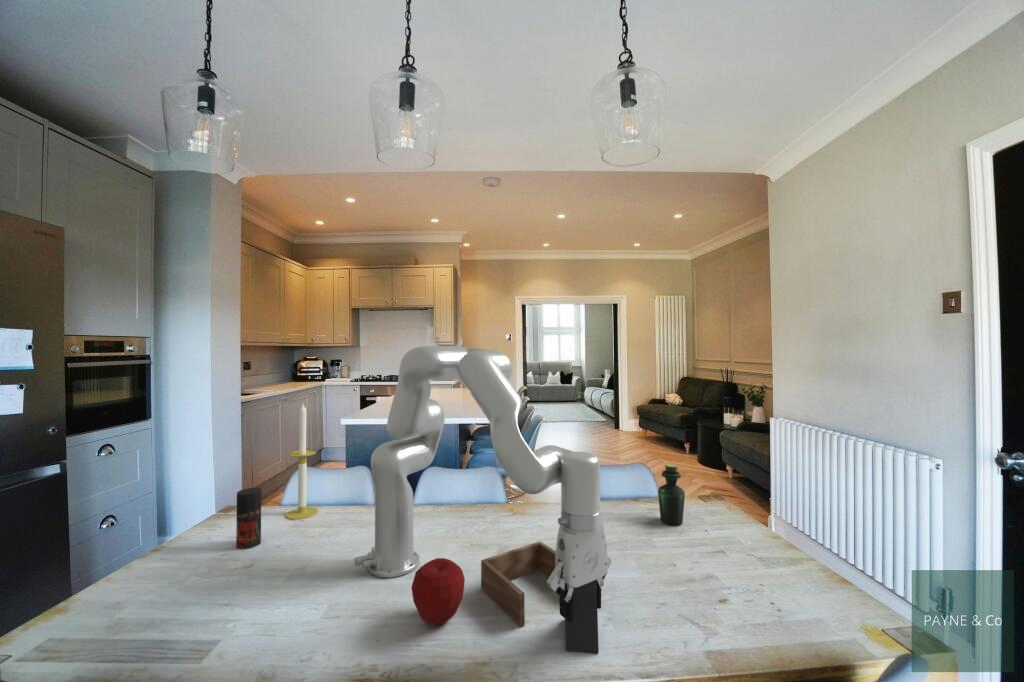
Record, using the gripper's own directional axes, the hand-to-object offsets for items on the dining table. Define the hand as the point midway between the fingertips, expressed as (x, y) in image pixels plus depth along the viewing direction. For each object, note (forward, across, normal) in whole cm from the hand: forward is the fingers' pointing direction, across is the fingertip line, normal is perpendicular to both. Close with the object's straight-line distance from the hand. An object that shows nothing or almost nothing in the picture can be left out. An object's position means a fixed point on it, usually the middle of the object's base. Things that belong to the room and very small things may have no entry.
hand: (580, 610), depth 80 cm
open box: (+5, 0, +16) cm, 17 cm away
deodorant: (+5, -53, +80) cm, 96 cm away
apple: (+5, -21, +20) cm, 29 cm away
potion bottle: (+5, +60, +23) cm, 64 cm away
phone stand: (+5, 0, 0) cm, 5 cm away
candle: (+6, -38, +96) cm, 103 cm away
